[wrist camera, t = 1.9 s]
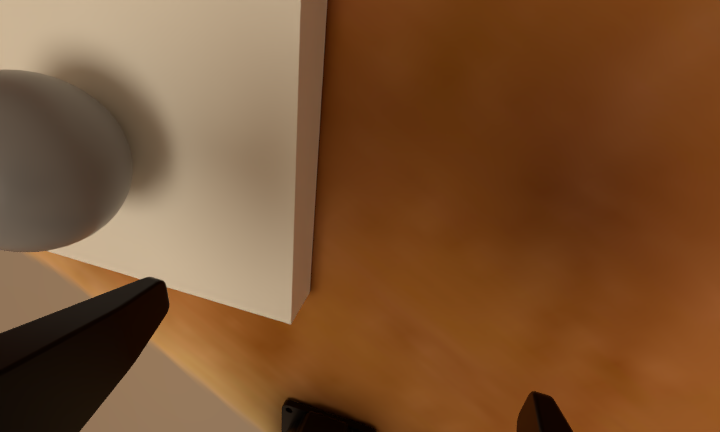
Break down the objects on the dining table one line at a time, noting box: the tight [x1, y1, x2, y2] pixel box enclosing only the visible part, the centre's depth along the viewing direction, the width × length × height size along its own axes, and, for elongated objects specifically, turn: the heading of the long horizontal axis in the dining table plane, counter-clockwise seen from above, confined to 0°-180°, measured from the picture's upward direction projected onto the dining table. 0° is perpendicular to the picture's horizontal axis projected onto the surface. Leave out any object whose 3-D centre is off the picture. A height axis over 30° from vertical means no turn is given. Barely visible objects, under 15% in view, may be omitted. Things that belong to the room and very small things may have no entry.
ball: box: [0, 69, 133, 252], centre depth 15 cm, size 6×6×6 cm
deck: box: [0, 0, 327, 324], centre depth 19 cm, size 16×24×2 cm, turn 84°
